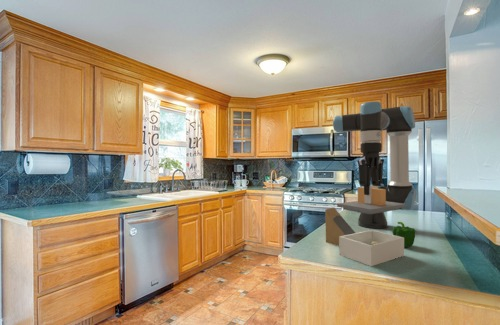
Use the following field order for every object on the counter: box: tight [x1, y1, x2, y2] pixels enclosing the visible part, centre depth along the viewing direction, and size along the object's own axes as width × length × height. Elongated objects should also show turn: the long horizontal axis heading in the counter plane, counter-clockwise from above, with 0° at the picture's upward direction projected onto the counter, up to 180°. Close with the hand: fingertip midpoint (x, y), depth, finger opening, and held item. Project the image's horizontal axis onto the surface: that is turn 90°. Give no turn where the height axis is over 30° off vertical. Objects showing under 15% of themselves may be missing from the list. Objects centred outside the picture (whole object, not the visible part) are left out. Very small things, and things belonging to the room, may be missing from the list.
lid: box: [336, 186, 406, 214], centre depth 105 cm, size 21×15×8 cm
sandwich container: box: [324, 207, 356, 246], centre depth 120 cm, size 9×15×15 cm, turn 47°
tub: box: [338, 229, 405, 267], centre depth 105 cm, size 20×14×7 cm
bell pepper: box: [391, 221, 416, 248], centre depth 116 cm, size 8×8×10 cm
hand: (371, 202), depth 105 cm, fingers closed on lid, 3 cm apart
